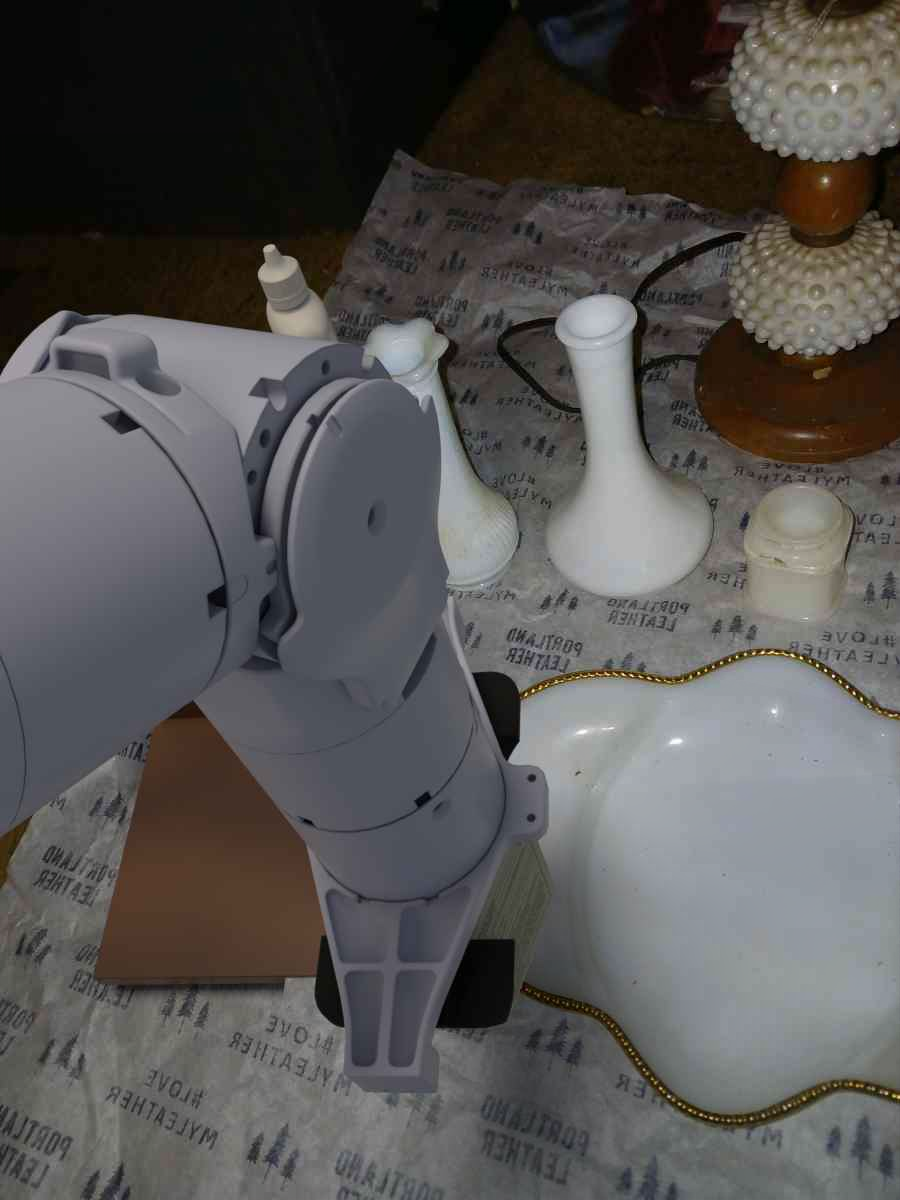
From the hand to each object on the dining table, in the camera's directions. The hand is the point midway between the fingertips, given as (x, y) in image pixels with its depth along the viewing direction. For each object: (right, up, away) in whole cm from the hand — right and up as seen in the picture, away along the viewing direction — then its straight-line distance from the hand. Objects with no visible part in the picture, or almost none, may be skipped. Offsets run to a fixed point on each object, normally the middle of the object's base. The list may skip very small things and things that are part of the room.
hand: (470, 916), depth 38 cm
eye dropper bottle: (-8, +24, +32) cm, 40 cm away
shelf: (-10, -1, +14) cm, 17 cm away
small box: (0, -1, +2) cm, 2 cm away
